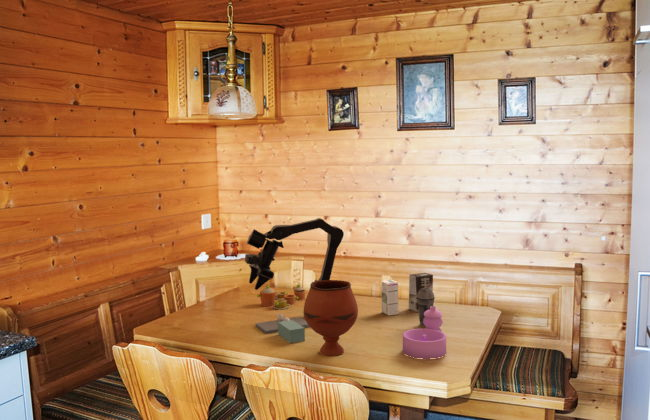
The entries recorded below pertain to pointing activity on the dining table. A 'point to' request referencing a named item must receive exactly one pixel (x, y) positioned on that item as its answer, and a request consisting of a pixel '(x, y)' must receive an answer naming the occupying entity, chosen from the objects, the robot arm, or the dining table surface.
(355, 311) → the goblet
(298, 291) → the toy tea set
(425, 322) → the container set
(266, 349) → the dining table surface
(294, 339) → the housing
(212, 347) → the dining table surface
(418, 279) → the coffee box
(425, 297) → the beverage cup
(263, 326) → the plate
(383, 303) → the syrup box
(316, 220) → the robot arm
